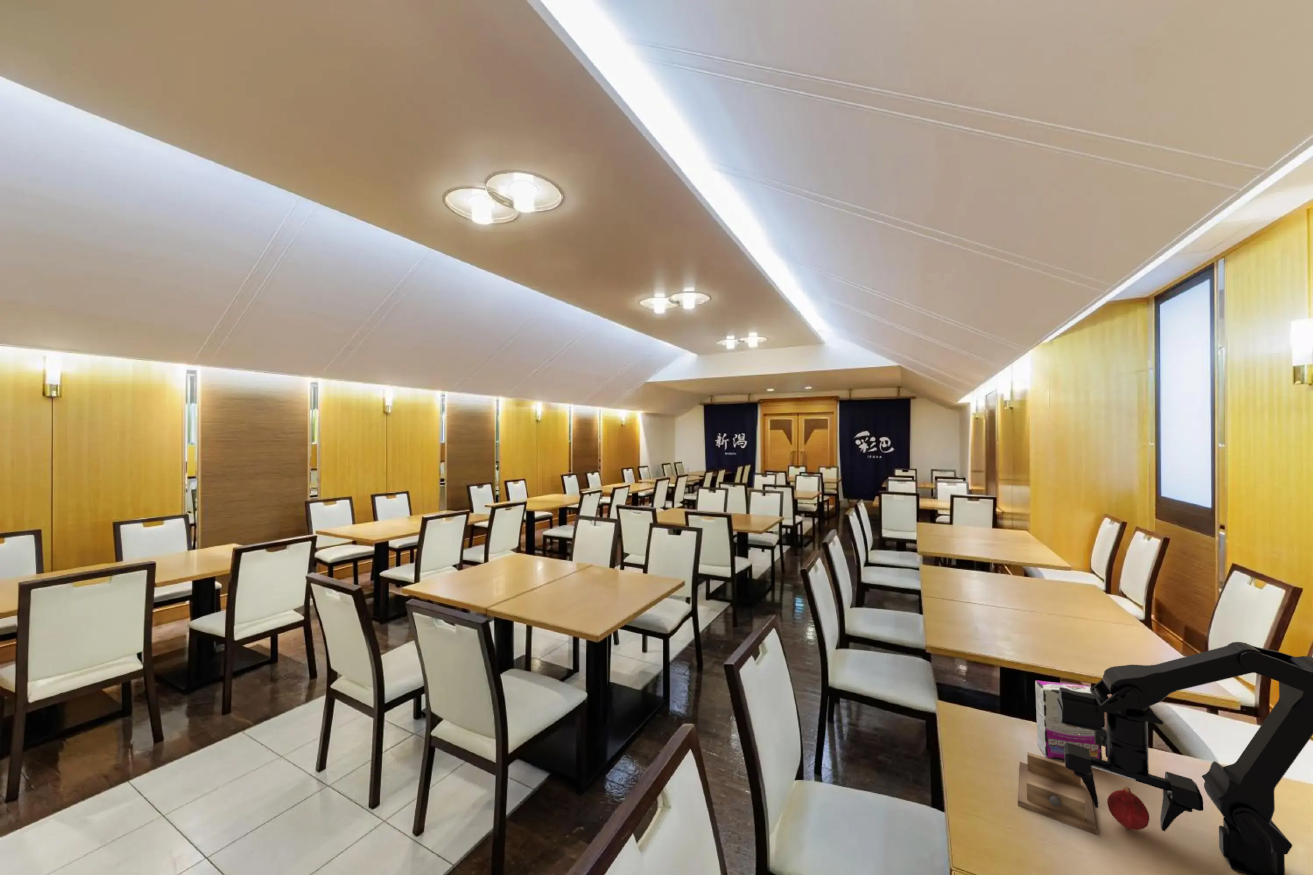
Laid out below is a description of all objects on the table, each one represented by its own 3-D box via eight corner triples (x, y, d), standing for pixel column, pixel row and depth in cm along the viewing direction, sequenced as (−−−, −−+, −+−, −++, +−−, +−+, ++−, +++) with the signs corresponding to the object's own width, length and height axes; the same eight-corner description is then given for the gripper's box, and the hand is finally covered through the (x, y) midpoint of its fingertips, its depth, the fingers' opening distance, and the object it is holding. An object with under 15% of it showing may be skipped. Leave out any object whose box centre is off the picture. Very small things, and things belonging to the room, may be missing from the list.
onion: (1158, 843, 89) (1157, 800, 89) (1122, 838, 90) (1121, 796, 90) (1134, 819, 95) (1133, 778, 95) (1100, 815, 96) (1099, 775, 96)
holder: (1089, 788, 103) (1088, 767, 103) (1096, 834, 91) (1095, 810, 91) (1019, 765, 110) (1019, 746, 110) (1017, 804, 99) (1017, 783, 99)
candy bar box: (1090, 753, 114) (1089, 684, 115) (1103, 766, 110) (1101, 695, 110) (1035, 744, 118) (1034, 678, 118) (1045, 757, 113) (1044, 688, 113)
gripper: (1187, 734, 93) (1189, 814, 93) (1062, 702, 104) (1063, 773, 104) (1203, 765, 84) (1205, 853, 84) (1064, 727, 96) (1066, 804, 96)
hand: (1128, 817), depth 92 cm, fingers open, 9 cm apart
